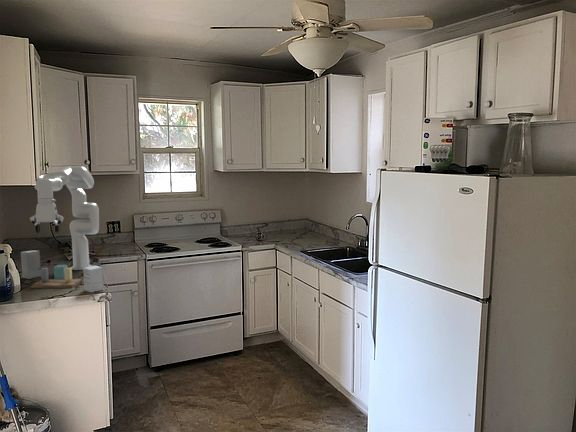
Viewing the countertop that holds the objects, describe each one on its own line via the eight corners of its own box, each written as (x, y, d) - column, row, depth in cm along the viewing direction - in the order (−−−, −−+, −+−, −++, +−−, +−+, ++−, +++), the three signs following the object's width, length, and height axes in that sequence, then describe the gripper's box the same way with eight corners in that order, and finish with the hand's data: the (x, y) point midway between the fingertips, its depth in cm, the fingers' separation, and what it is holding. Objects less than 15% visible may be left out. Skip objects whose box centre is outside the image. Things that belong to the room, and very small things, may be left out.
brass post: (67, 281, 268) (66, 267, 267) (72, 281, 268) (71, 267, 267) (65, 282, 265) (64, 268, 264) (70, 282, 265) (69, 268, 264)
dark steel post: (43, 281, 267) (43, 267, 266) (48, 281, 267) (48, 267, 266) (41, 282, 265) (40, 268, 264) (46, 282, 265) (45, 268, 264)
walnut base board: (43, 281, 273) (42, 279, 273) (81, 281, 274) (81, 278, 274) (31, 288, 259) (31, 285, 259) (72, 287, 260) (72, 285, 260)
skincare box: (29, 279, 278) (27, 252, 276) (21, 277, 281) (19, 251, 279) (42, 276, 285) (40, 250, 283) (34, 274, 288) (32, 249, 287)
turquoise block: (58, 277, 283) (57, 264, 282) (68, 277, 283) (67, 264, 282) (54, 279, 277) (53, 267, 276) (64, 279, 278) (63, 266, 277)
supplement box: (97, 287, 261) (95, 265, 260) (103, 289, 256) (102, 267, 255) (84, 290, 256) (82, 267, 254) (90, 292, 251) (89, 269, 249)
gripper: (64, 200, 261) (66, 231, 263) (31, 200, 259) (33, 231, 261) (60, 201, 254) (61, 233, 256) (25, 202, 251) (28, 233, 254)
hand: (47, 232), depth 258 cm, fingers open, 9 cm apart
